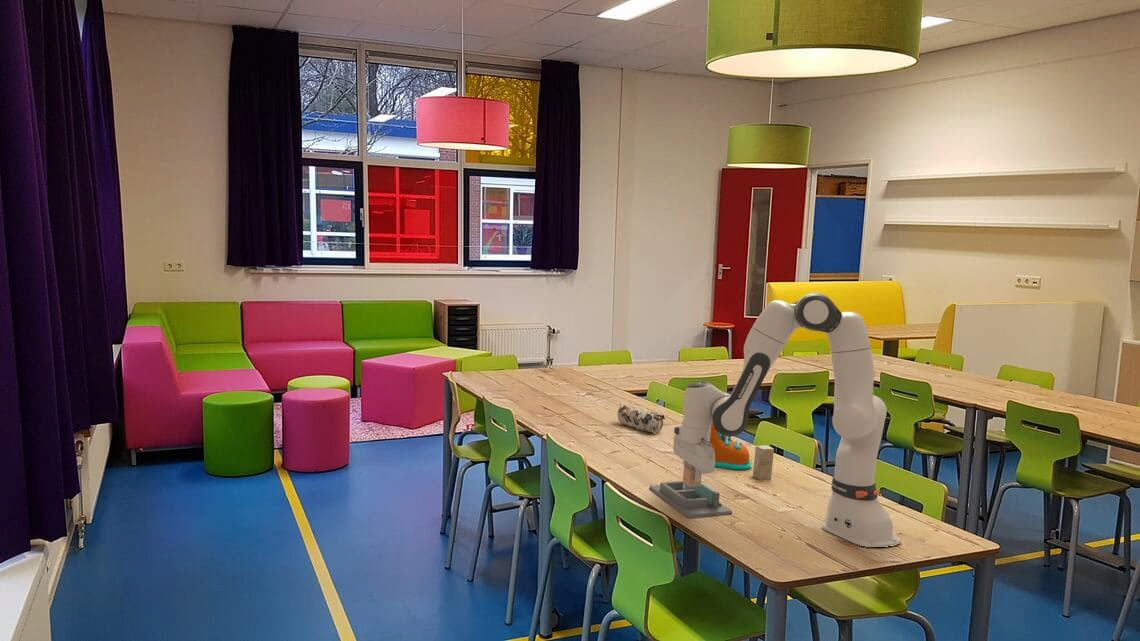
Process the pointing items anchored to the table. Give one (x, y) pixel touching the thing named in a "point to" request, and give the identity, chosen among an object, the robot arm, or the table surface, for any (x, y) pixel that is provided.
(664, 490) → the housing
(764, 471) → the box
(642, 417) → the pencil case
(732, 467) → the toy shoe
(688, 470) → the peach button block
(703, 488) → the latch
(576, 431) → the table surface
